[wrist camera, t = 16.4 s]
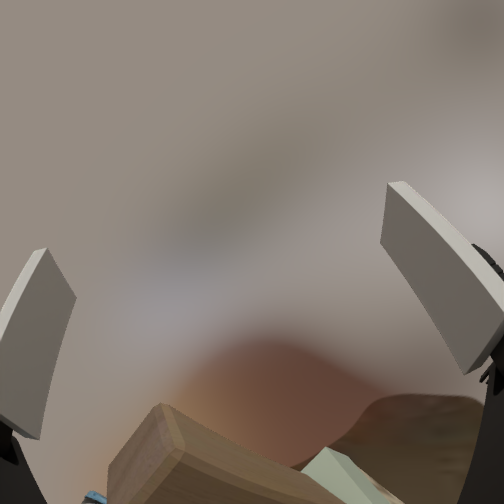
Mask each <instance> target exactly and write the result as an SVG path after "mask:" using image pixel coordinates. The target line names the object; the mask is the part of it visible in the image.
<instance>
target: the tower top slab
mask: <svg viewBox="0 0 504 504" xmlns="http://www.w3.org/2000/svg"><path fill="white" fill-rule="evenodd" d="M301 473H304V474H307V475H308V476H309V477H311V478H312V479H313V480H315V481H316V482H317V483H319V484H320V485H321V486H323V487H324V488H325V489H327V490H328V491H329V492H331V493H332V494H334V495H335V496H336V497H338V498H339V499H341V500H342V501H343V502H345V503H346V504H391V503H390V502H389V501H388V500H387V499H386V498H385V497H384V496H383V495H382V494H381V493H380V492H379V491H378V490H377V488H376V487H375V486H374V485H373V484H372V483H371V482H370V481H369V480H368V479H367V478H366V476H365V475H364V474H363V473H362V472H361V471H360V470H359V469H358V468H357V466H356V465H355V464H354V463H353V462H352V461H351V460H350V458H349V457H348V456H345V455H343V454H341V453H339V452H336V451H334V450H332V449H330V448H327V447H325V448H324V449H323V450H322V451H321V452H320V453H319V454H318V455H317V456H316V457H315V458H314V459H313V460H312V461H311V462H310V463H309V464H308V465H307V466H306V467H305V468H304V469H303V470H302V471H301Z"/></svg>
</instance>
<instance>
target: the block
mask: <svg viewBox="0 0 504 504" xmlns="http://www.w3.org/2000/svg"><path fill="white" fill-rule="evenodd" d="M107 504H346V503H345V502H343V501H342V500H341V499H339V498H338V497H336V496H335V495H334V494H332V493H331V492H329V491H328V490H327V489H325V488H324V487H323V486H321V485H320V484H319V483H317V482H316V481H315V480H313V479H312V478H311V477H309V476H308V475H307V474H304V473H301V472H299V471H296V470H294V469H291V468H289V467H286V466H284V465H282V464H279V463H277V462H275V461H272V460H270V459H268V458H265V457H263V456H261V455H259V454H257V453H255V452H252V451H251V450H248V449H246V448H244V447H242V446H240V445H238V444H236V443H234V442H232V441H231V440H229V439H227V438H225V437H223V436H221V435H219V434H217V433H215V432H214V431H212V430H210V429H208V428H206V427H205V426H203V425H201V424H199V423H198V422H196V421H194V420H193V419H191V418H189V417H188V416H186V415H184V414H183V413H181V412H179V411H178V410H176V409H175V408H173V407H171V406H170V405H167V404H162V403H160V404H158V405H157V406H155V407H153V409H152V410H151V411H150V413H149V414H148V415H147V417H146V418H145V419H144V421H143V422H142V423H141V425H140V426H139V427H138V429H137V430H136V431H135V432H134V434H133V435H132V436H131V438H130V439H129V440H128V442H127V443H126V444H125V446H124V447H123V448H122V449H121V451H120V452H119V453H118V455H117V456H116V457H115V459H114V460H113V461H112V462H111V464H110V465H109V468H108V482H107Z"/></svg>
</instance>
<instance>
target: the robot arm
mask: <svg viewBox="0 0 504 504" xmlns="http://www.w3.org/2000/svg"><path fill="white" fill-rule="evenodd" d="M380 243H381V245H382V246H383V248H384V249H385V250H386V252H387V253H388V255H389V256H390V257H391V259H392V260H393V261H394V263H395V264H396V266H397V267H398V269H399V270H400V271H401V273H402V274H403V276H404V277H405V279H406V280H407V281H408V283H409V285H410V286H411V288H412V289H413V291H414V292H415V294H416V295H417V297H418V298H419V300H420V301H421V303H422V304H423V306H424V308H425V309H426V311H427V312H428V314H429V316H430V317H431V319H432V320H433V322H434V323H435V325H436V327H437V329H438V330H439V332H440V334H441V335H442V337H443V339H444V340H445V342H446V344H447V346H448V347H449V349H450V351H451V353H452V354H453V356H454V358H455V360H456V362H457V363H458V365H459V367H460V369H461V371H462V373H463V375H466V374H468V373H470V372H472V371H473V370H475V369H477V368H479V367H481V366H482V365H483V363H484V362H485V361H486V360H487V358H488V357H489V356H491V358H492V359H493V363H492V364H491V365H490V366H489V367H488V369H487V370H486V371H485V372H484V374H483V375H482V376H481V378H480V382H481V383H482V382H483V381H484V380H485V379H486V377H487V376H488V375H489V379H488V380H487V382H486V384H488V386H487V393H486V399H485V405H484V411H483V416H482V421H481V426H480V430H479V435H478V439H477V443H476V447H475V451H474V454H473V458H472V461H471V465H470V468H469V471H468V474H467V477H466V480H465V483H464V486H463V489H462V492H461V495H460V497H459V500H458V503H457V504H504V273H503V270H502V269H501V268H500V267H499V265H496V263H495V261H494V260H493V259H492V258H491V257H490V255H489V254H488V253H487V252H485V251H484V250H483V249H481V248H480V247H478V246H477V245H475V244H470V243H469V242H468V241H467V240H466V239H465V238H464V237H463V236H462V235H461V234H460V233H459V232H458V231H457V230H456V229H455V228H454V227H453V226H452V225H451V224H450V223H449V222H448V221H447V220H446V219H445V218H444V217H443V216H442V215H441V214H440V213H439V212H438V211H437V210H436V209H435V208H434V207H432V206H431V205H430V204H429V203H428V202H427V201H426V200H425V199H424V198H423V197H422V196H420V195H419V194H418V193H417V192H416V191H415V190H414V189H413V188H411V187H410V186H409V185H408V184H407V183H405V182H404V181H403V182H393V183H387V193H386V202H385V211H384V219H383V227H382V234H381V241H380ZM75 301H76V296H75V294H74V292H73V291H72V289H71V288H70V286H69V284H68V283H67V281H66V279H65V278H64V276H63V274H62V273H61V271H60V269H59V268H58V266H57V264H56V262H55V261H54V259H53V257H52V255H51V253H50V252H49V250H48V248H44V249H40V250H36V251H34V252H33V254H32V255H31V257H30V259H29V260H28V262H27V263H26V265H25V267H24V269H23V270H22V272H21V274H20V276H19V277H18V279H17V281H16V283H15V285H14V287H13V288H12V290H11V292H10V294H9V296H8V298H7V300H6V302H5V304H4V306H3V308H2V310H1V312H0V504H47V502H46V500H45V499H44V497H43V495H42V493H41V491H40V489H39V487H38V485H37V483H36V481H35V479H34V477H33V475H32V473H31V471H30V468H29V466H28V464H27V462H26V459H25V457H24V455H23V452H22V450H21V447H20V445H19V442H18V441H17V439H16V438H15V437H14V436H12V432H13V430H14V431H16V432H17V433H19V434H20V435H22V436H23V437H26V438H31V439H36V440H39V439H40V433H41V427H42V422H43V417H44V411H45V406H46V402H47V397H48V393H49V388H50V384H51V380H52V376H53V372H54V368H55V365H56V361H57V357H58V354H59V350H60V347H61V344H62V340H63V337H64V334H65V331H66V328H67V324H68V321H69V318H70V315H71V313H72V309H73V307H74V304H75ZM82 504H107V498H106V497H104V496H102V495H101V494H99V493H97V492H95V491H90V492H89V493H88V494H87V495H86V496H85V499H84V501H83V502H82Z"/></svg>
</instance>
